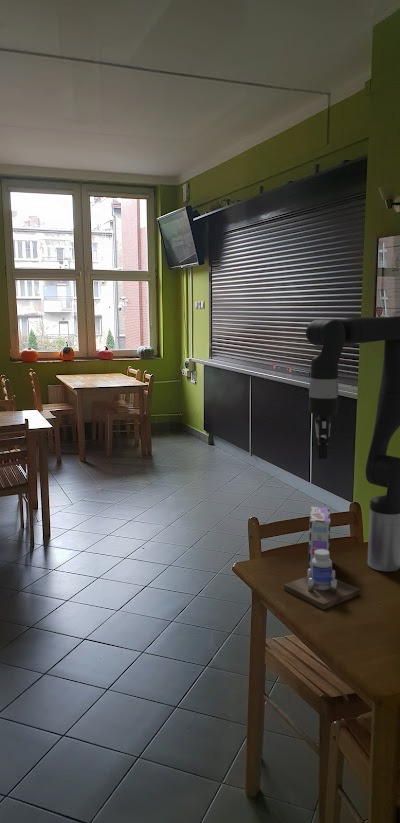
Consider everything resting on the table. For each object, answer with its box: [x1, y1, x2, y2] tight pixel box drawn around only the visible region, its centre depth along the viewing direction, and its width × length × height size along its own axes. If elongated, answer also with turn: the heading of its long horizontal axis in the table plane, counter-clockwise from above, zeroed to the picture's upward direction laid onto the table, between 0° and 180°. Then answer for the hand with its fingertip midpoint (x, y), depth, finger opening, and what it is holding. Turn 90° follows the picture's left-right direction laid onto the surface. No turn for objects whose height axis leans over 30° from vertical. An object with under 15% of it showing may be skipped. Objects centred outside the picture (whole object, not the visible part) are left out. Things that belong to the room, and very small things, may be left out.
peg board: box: [283, 575, 360, 611], centre depth 160 cm, size 14×14×2 cm
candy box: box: [308, 506, 331, 568], centre depth 176 cm, size 14×6×16 cm, turn 168°
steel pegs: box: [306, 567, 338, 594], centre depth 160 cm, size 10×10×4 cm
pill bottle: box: [312, 549, 333, 590], centre depth 160 cm, size 5×5×10 cm
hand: (321, 455), depth 161 cm, fingers open, 8 cm apart
